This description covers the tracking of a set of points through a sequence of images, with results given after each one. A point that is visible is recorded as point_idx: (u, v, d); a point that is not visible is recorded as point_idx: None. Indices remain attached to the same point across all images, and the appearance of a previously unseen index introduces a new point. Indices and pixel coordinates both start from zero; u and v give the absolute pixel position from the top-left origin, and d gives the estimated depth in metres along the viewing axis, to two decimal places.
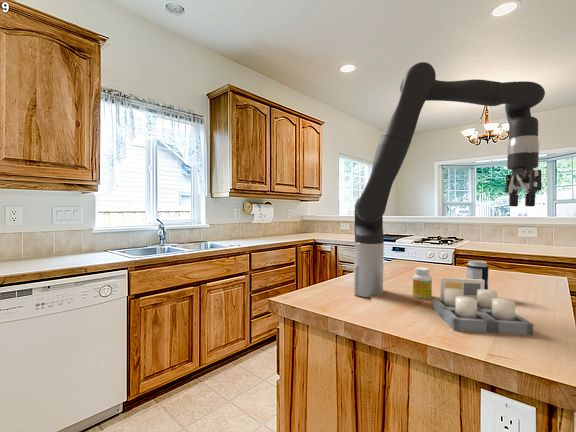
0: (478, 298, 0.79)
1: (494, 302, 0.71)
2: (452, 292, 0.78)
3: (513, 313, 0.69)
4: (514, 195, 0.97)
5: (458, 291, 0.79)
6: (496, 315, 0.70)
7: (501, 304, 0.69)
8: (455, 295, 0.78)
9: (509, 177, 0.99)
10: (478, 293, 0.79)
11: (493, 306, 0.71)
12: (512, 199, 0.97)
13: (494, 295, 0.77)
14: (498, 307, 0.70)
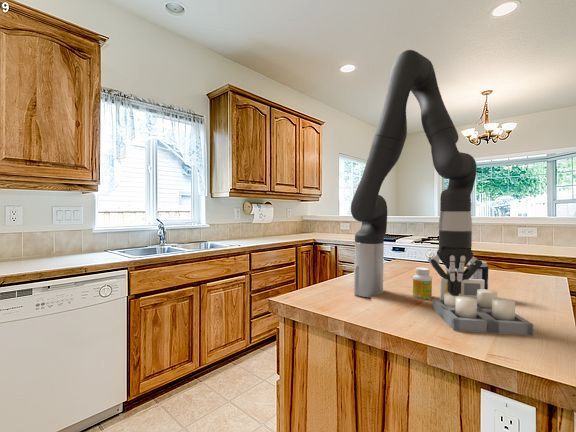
0: (478, 298, 0.79)
1: (494, 302, 0.71)
2: (452, 297, 0.78)
3: (513, 313, 0.69)
4: None
5: None
6: (496, 315, 0.70)
7: (501, 304, 0.69)
8: (455, 300, 0.78)
9: (435, 261, 0.80)
10: (478, 293, 0.79)
11: (493, 306, 0.71)
12: None
13: (494, 295, 0.77)
14: (498, 307, 0.70)
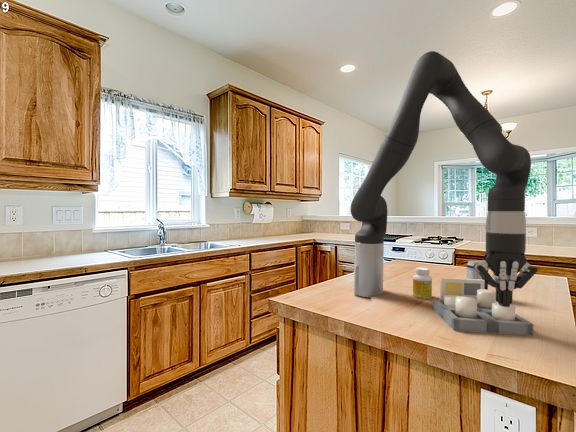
0: (478, 298, 0.79)
1: (494, 307, 0.71)
2: (452, 300, 0.78)
3: (513, 318, 0.69)
4: None
5: None
6: None
7: (501, 309, 0.69)
8: None
9: None
10: (478, 293, 0.79)
11: (493, 311, 0.71)
12: None
13: (494, 295, 0.77)
14: (498, 312, 0.70)
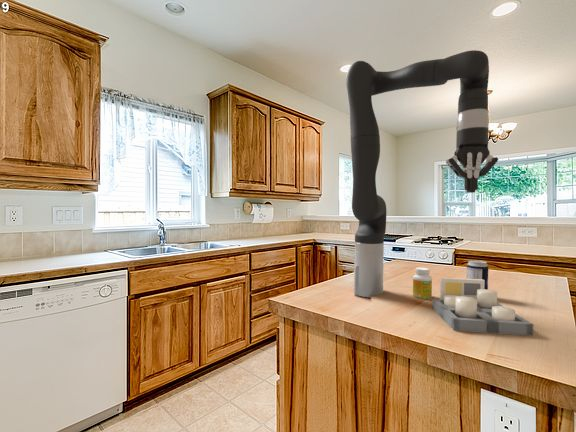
0: (478, 298, 0.79)
1: (494, 310, 0.71)
2: (452, 300, 0.78)
3: None
4: None
5: None
6: None
7: (501, 312, 0.69)
8: None
9: None
10: (478, 293, 0.79)
11: (493, 314, 0.71)
12: None
13: (494, 295, 0.77)
14: (498, 315, 0.70)
